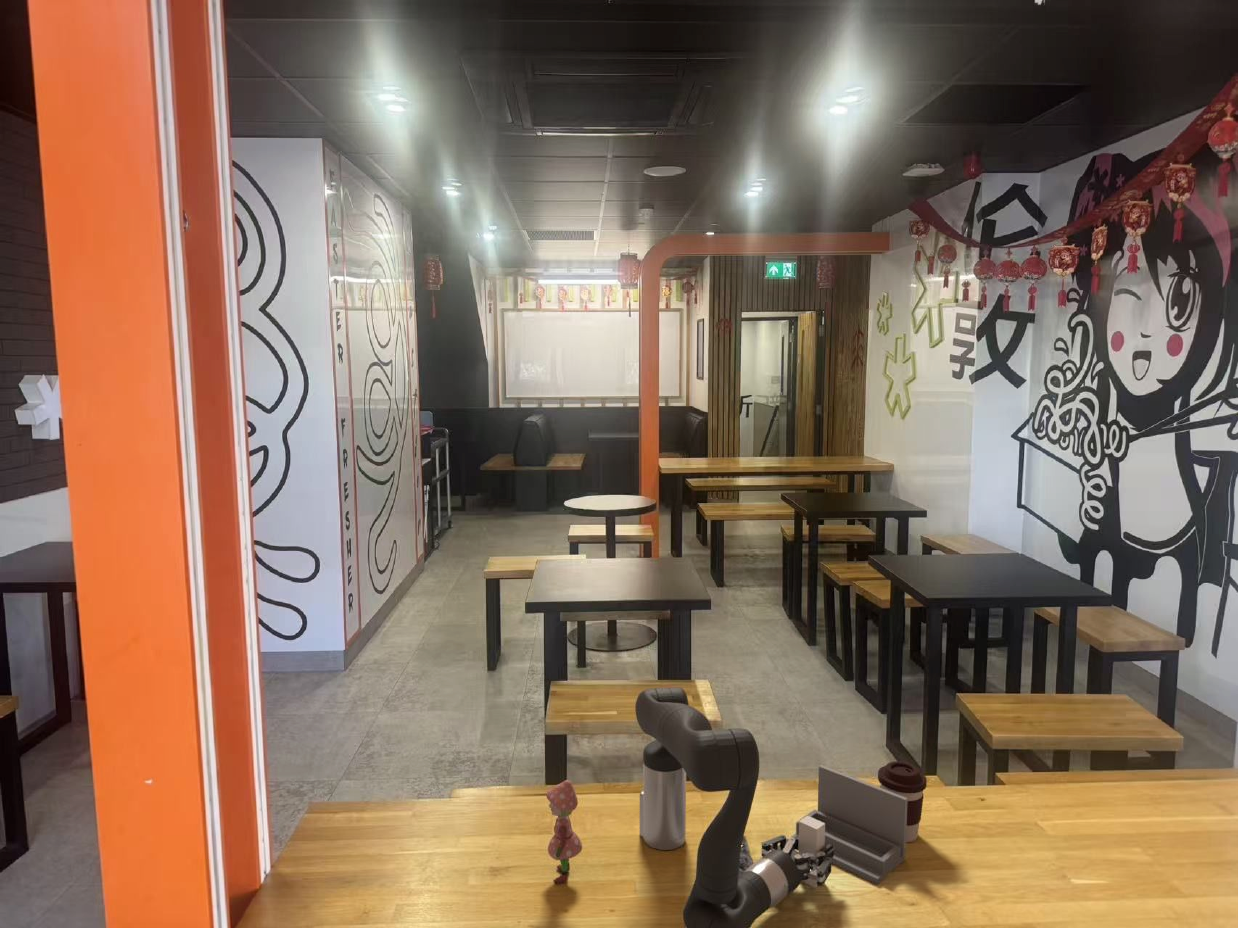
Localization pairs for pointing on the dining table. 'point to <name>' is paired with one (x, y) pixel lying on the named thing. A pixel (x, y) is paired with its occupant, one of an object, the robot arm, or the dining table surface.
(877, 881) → the grey desk organizer
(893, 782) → the coffee cup
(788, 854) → the robot arm
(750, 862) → the driftwood
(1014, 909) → the dining table surface
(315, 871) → the dining table surface
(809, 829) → the clay bar
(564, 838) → the cartoon character
